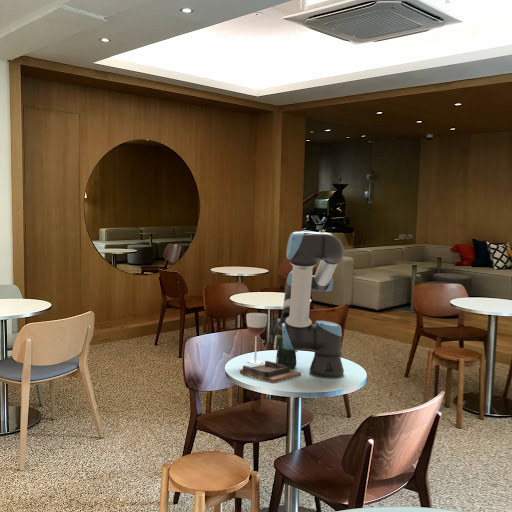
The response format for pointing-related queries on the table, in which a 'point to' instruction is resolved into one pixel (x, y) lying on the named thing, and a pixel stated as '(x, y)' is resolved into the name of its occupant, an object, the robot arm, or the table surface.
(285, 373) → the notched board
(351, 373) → the table surface
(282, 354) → the coffee jar
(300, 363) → the table surface
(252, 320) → the wineglass
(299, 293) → the robot arm
